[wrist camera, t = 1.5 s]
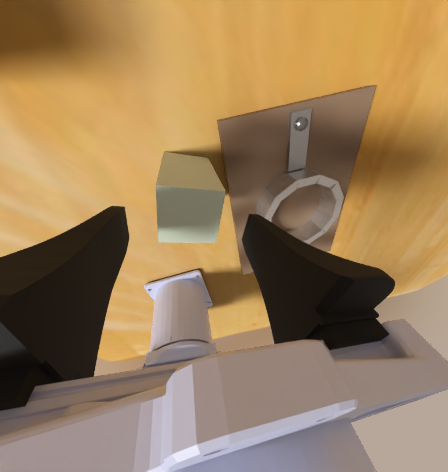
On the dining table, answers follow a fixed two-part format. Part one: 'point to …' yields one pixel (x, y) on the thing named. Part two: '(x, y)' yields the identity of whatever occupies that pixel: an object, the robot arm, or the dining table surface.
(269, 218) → the cup bracket
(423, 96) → the dining table surface
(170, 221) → the sage peg
